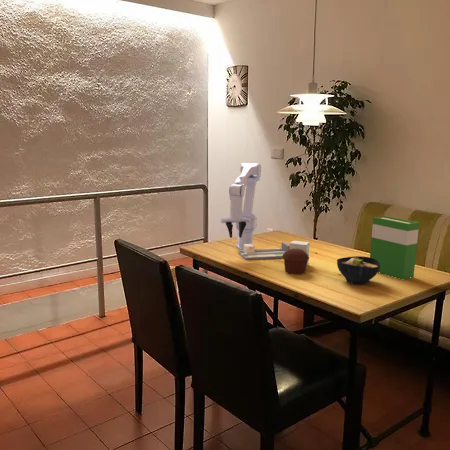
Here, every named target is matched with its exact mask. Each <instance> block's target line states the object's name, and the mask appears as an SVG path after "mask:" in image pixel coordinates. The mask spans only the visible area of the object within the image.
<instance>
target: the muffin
mask: <svg viewBox="0 0 450 450" xmlns="http://www.w3.org/2000/svg"><path fill="white" fill-rule="evenodd" d="M282 257H283V258H282V259H283V263H284V272H285V273H286V274H289V275H294V276H296V275H304V274H305V273H306V270H307V267H308V265H307V261H308V259H310V255H309V256H308V254H307V253H306V252H304V251H303V250H301V249H289V250H287V251H286V252H285V253H284V254H283V256H282Z"/></svg>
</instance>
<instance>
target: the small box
mask: <svg viewBox="0 0 450 450" xmlns="http://www.w3.org/2000/svg"><path fill="white" fill-rule="evenodd" d="M289 245H290V247H289V249H301V250H303V251H304V252H306V253H307V254H308V256H309V257H310V242H309V241H300V240H292V241H291V242H289ZM309 259H310V258H309ZM309 259H308V261H307V266H309V264H310V263H309Z"/></svg>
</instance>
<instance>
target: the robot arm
mask: <svg viewBox="0 0 450 450" xmlns="http://www.w3.org/2000/svg"><path fill="white" fill-rule="evenodd" d="M239 171H240V175H238V176H237V177H236V179H235V181H234V183H232V184H231V185H230V186H229V187H228V194H229V200H230V202H229V203H230V206H229V208H230V210H229V217H225V218H222V217H221V218H220V223H221V224H225V225H226V227H227V231H228V234H229V238H230V239H232V238H233V227H234V226H233V225H234V223H235V228H236V230H237V238H236V239H237V243H236V244H235V246H236V248H238V249H239V250H244V244H252V245H253V244H254V243H253V241H254V240H253V239H254V238H253V236H254V232H255V231H256V229H257V222H258V221H257V219H258V218H257V215H255V214H254V213H253V208H254V200H255V193H256V185H257V182H258V181H261V180H260V179H261V175H262V174H261V173H262V165H261V163H259V162H258V163H253V162H252V163H251V162H248V163H247V162H242V163H241V165H240V169H239ZM243 197H244V201H243ZM243 202H244V203H243ZM254 249H256V247H255V248H254Z"/></svg>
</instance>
